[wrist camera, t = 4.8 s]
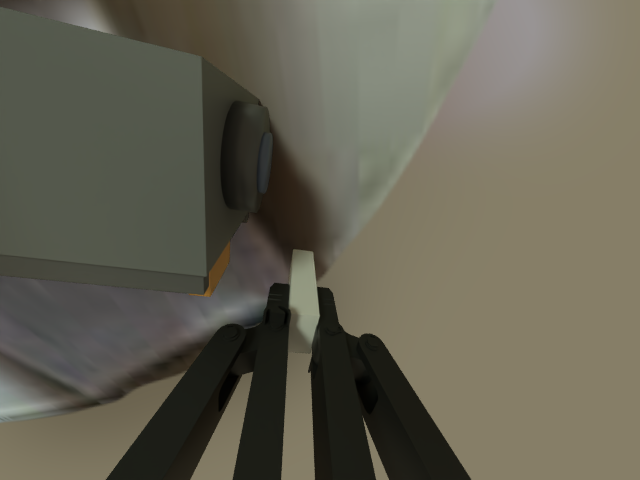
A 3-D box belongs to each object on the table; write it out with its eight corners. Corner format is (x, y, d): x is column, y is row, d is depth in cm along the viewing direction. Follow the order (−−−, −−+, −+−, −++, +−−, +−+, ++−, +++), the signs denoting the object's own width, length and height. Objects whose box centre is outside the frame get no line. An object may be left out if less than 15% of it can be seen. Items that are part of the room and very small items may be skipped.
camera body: (88, 196, 16) (-177, 278, 7) (53, 52, 12) (-547, -138, 4) (270, 223, 18) (240, 314, 9) (283, 104, 14) (255, 64, 5)
